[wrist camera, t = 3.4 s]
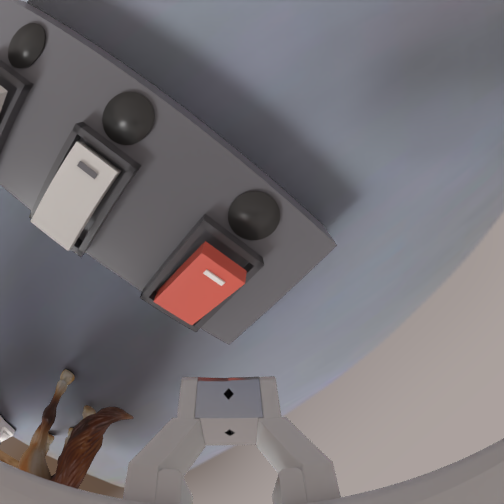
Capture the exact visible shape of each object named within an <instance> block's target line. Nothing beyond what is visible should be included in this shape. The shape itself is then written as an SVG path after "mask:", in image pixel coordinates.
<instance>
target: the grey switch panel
mask: <svg viewBox="0 0 504 504" xmlns="http://www.w3.org/2000/svg"><path fill="white" fill-rule="evenodd" d="M0 85H1V86H2V87H3V88H5V89H6V90H7V91H8V92H7V95H6V97H5V100H4V103H3V106H2V109H1V113H0V185H1V186H3V187H4V188H5V189H6V190H7V191H8V192H9V193H11V194H12V195H13V196H14V197H15V198H17V199H18V200H19V201H20V202H21V203H22V204H24V205H25V206H26V207H27V208H28V209H30V210H31V214H30V216H29V218H31V219H32V217H33V215H34V213H35V211H36V209H37V208H38V206H39V204H40V202H41V200H42V198H43V196H44V194H45V193H46V191H47V189H48V187H49V185H50V184H51V182H52V180H53V178H54V177H55V175H56V173H57V172H58V170H59V168H60V167H61V165H62V163H63V162H64V160H65V158H66V157H67V155H68V154H69V152H70V151H71V149H72V148H73V146H74V144H75V143H76V141H81V142H84V143H85V144H86V145H88V146H89V147H90V148H92V149H93V150H94V151H96V152H97V153H98V154H100V155H101V156H102V157H104V158H105V159H106V160H108V161H109V162H110V163H111V164H113V165H114V166H115V167H117V168H118V169H119V170H121V172H120V174H119V175H118V177H117V178H116V179H115V181H114V182H113V184H112V185H111V187H110V188H109V190H108V191H107V193H106V194H105V196H104V197H103V199H102V200H101V202H100V203H99V205H98V206H97V208H96V210H95V211H94V213H93V214H92V216H91V218H90V219H89V221H88V222H87V224H86V226H85V227H84V229H83V231H82V232H81V234H80V236H79V238H78V239H77V241H76V243H75V244H74V246H73V247H72V248H71V249H70V250H72V251H73V252H74V253H76V254H77V255H78V256H80V257H82V256H83V255H84V253H87V254H88V255H89V256H91V257H92V258H94V259H95V260H96V261H98V262H99V263H101V264H102V265H103V266H105V267H106V268H108V269H109V270H110V271H112V272H113V273H115V274H116V275H118V276H119V277H121V278H122V279H124V280H125V281H127V282H128V283H129V284H131V285H132V286H134V287H135V288H137V289H138V290H140V291H142V293H141V296H140V298H141V299H142V300H144V301H145V302H147V303H149V304H150V305H152V306H153V307H155V308H156V309H158V310H160V311H161V312H163V313H164V314H166V315H168V316H169V317H171V318H173V319H174V320H176V321H178V322H179V323H181V324H183V325H184V326H186V327H188V328H189V329H191V330H193V331H194V332H197V331H198V330H199V329H200V328H201V329H203V330H204V331H206V332H208V333H209V334H211V335H213V336H215V337H216V338H218V339H220V340H222V341H223V342H225V343H227V344H230V343H232V342H233V341H234V340H235V339H236V338H237V337H238V336H240V335H241V334H242V333H243V332H244V331H245V330H246V329H247V328H249V327H250V326H251V325H252V324H253V323H254V322H255V321H257V320H258V319H259V318H260V317H261V316H262V315H263V314H264V313H265V312H267V311H268V310H269V309H270V308H271V307H272V306H273V305H274V304H275V303H276V302H278V301H279V300H280V299H281V298H282V297H283V296H284V295H285V294H286V293H287V292H288V291H290V290H291V289H292V288H293V287H294V286H295V285H296V284H297V283H298V282H299V281H300V280H301V279H302V278H303V277H305V276H306V275H307V274H308V273H309V272H310V271H311V270H312V269H313V268H314V267H315V266H316V265H317V264H318V263H319V262H320V261H321V260H322V259H323V258H325V257H326V256H327V255H328V254H329V253H330V252H331V251H332V250H333V249H334V248H335V247H336V246H337V245H336V243H335V242H334V240H333V239H332V237H331V236H330V234H329V233H328V231H327V230H326V228H325V227H324V225H323V224H321V223H320V222H319V221H318V220H317V219H316V218H315V217H314V216H313V215H312V214H311V213H309V212H308V211H307V210H306V209H305V208H304V207H303V206H302V205H301V204H299V203H298V202H297V201H296V200H295V199H294V198H293V197H292V196H290V195H289V194H288V193H287V192H286V191H285V190H284V189H283V188H281V187H280V186H279V185H278V184H277V183H276V182H275V181H273V180H272V179H271V178H270V177H269V176H268V175H266V174H265V173H264V172H263V171H262V170H261V169H259V168H258V167H257V166H256V165H255V164H253V163H252V162H251V161H250V160H249V159H248V158H246V157H245V156H244V155H243V154H242V153H240V152H239V151H238V150H237V149H235V148H234V147H233V146H232V145H231V144H229V143H228V142H227V141H226V140H224V139H223V138H222V137H221V136H219V135H218V134H217V133H216V132H215V131H213V130H212V129H211V128H209V127H208V126H207V125H206V124H204V123H203V122H202V121H201V120H199V119H198V118H197V117H195V116H194V115H193V114H192V113H190V112H189V111H188V110H186V109H185V108H184V107H183V106H181V105H180V104H179V103H177V102H176V101H175V100H173V99H172V98H171V97H169V96H168V95H167V94H165V93H164V92H163V91H161V90H160V89H158V88H157V87H156V86H154V85H153V84H152V83H150V82H149V81H148V80H146V79H145V78H143V77H142V76H141V75H139V74H138V73H136V72H135V71H134V70H132V69H131V68H129V67H128V66H126V65H125V64H124V63H122V62H121V61H119V60H118V59H116V58H115V57H113V56H112V55H110V54H109V53H107V52H106V51H104V50H103V49H101V48H100V47H98V46H97V45H95V44H94V43H92V42H91V41H89V40H88V39H86V38H85V37H83V36H82V35H80V34H78V33H77V32H75V31H74V30H72V29H71V28H69V27H67V26H66V25H64V24H62V23H61V22H59V21H58V20H56V19H54V18H53V17H51V16H49V15H48V14H46V13H44V12H42V11H41V10H39V9H37V8H36V7H34V6H32V5H30V4H29V3H27V2H24V1H21V0H0ZM205 241H206V242H207V243H209V244H210V245H212V246H213V247H214V248H216V249H217V250H219V251H220V252H221V253H223V254H224V255H225V256H227V257H228V258H230V259H231V260H232V261H234V262H235V263H236V264H238V265H239V266H241V267H242V268H243V269H245V270H246V271H247V273H246V281H245V284H244V285H243V286H241V287H240V288H239V289H238V290H236V291H235V292H234V293H233V294H231V295H230V296H229V297H227V298H226V299H225V300H224V301H222V302H221V303H220V304H219V305H217V306H216V307H215V308H213V309H212V310H211V311H210V312H208V313H207V314H206V315H205V316H203V317H202V318H201V319H199V320H198V321H197V322H196V323H194V324H193V325H190V324H188V323H187V322H185V321H183V320H182V319H180V318H178V317H177V316H175V315H174V314H172V313H170V312H169V311H167V310H166V309H164V308H162V307H161V306H159V305H158V304H156V303H154V302H153V301H154V299H155V296H156V294H157V291H158V289H159V288H160V287H161V286H162V285H163V284H164V283H165V282H166V281H167V280H168V279H169V278H170V277H171V276H172V275H173V274H174V273H175V272H176V271H177V270H178V269H179V268H180V267H181V266H182V264H183V263H184V262H185V261H186V260H187V259H188V258H189V257H190V256H191V255H192V254H193V253H194V252H195V251H196V250H197V249H198V248H199V247H200V246H201V245H202V244H203V243H204V242H205Z"/></svg>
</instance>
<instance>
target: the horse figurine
mask: <svg viewBox="0 0 504 504" xmlns="http://www.w3.org/2000/svg"><path fill="white" fill-rule="evenodd" d="M74 379H75V376H74V374H73V373H71V372H70V371H68V370H66V369H65V370H63V372H62V374H61V376H60V380H59V381H58V383H57V386H56V391H55V394H54V396H53V398H52V400H51V402H50V404H49V405H48V406H47V407H46V408H45V410H44V412H43V416H42V423H41V425H40V426H39V427H38V429H37V430H36V431H35V433H34V435H33V437H32V439H31V442H30V446H29V448H28V449H27V450H26V451H25V452H24V453H23V455H22V457H21V459H20V462H19V466H18V469H20V470H22V471H25V472H28V473H30V474H33V475H36V476H38V477H41V478H44V479H47V480H50V481H53V482H56V483H59V484H63V485H66V486H69V487H73V488H76V489H78V488H79V486H80V484H81V483H82V481H83V479H84V477H85V475H86V473H87V470H88V469H89V467H90V464H91V463H92V461H93V459H94V457H95V455H96V453H97V452H98V451H99V449H100V448H101V446H102V440H103V434H104V433H105V431H106V429H107V428H108V427H109V426H110V424H112V423H114V422H117V421H119V420H125V419H133V418H134V417H133V416H132V415H129V414H128V413H126V412H125V411H124V410H122V409H120V408H118V407H107V408H103V409H101V410H100V411H99V412H97V413H96V411H95V410H94V409H93V408H92V407H91V406H88V405H86V406H84V411H83V413H82V414H83V415H82V416H83V419H82V420H80V422H79V424H78V425H76V426H75V427H74V428H69V432H68V437H66V439H65V445H64V448H63V451H62V454H61V455H60V456H59V458H58V466H57V470H56V473H55V474H54V475H53V476H51V475H50V472H49V469H48V466H47V463H46V460H45V456H46V454H47V452H48V450H49V445H50V444H51V443H52V442H53V440H54V436H53V435H51V434H49V433H48V432H49V430H50V428H51V426H52V425H53V423H54V421H55V417H56V408H57V405H58V402H59V400H60V397H61V396H62V395H63V394H64V392H65V391H66V389H67V385H70V384H71V382H73V381H74Z"/></svg>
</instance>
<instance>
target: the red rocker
mask: <svg viewBox="0 0 504 504" xmlns="http://www.w3.org/2000/svg"><path fill="white" fill-rule="evenodd" d="M246 273H247V271H246V270H245V269H243V268H242V267H241V266H239V265H238V264H236V263H235V262H234V261H232V260H231V259H230V258H228V257H227V256H225V255H224V254H223V253H221V252H220V251H219V250H217V249H216V248H214V247H213V246H212V245H210V244H209V243H207V242H206V241H205V242H204V243H203V244H202V245H201V246H200V247H199V248H198V249H197V250H196V251H195V252H194V253H193V254H192V255H191V256H190V257H189V258H188V259H187V260H186V261H185V262H184V263H183V264H182V266H181V267H180V268H179V269H178V270H177V271H176V272H175V273H174V274H173V275H172V276H171V277H170V278H169V279H168V280H167V281H166V282H165V283H164V284H163V285H162V286H161V287H160V288H159V289H158V291H157V294H156V296H155V299H154V301H153V302H154V303H156V304H158V305H159V306H161V307H162V308H164V309H166V310H167V311H169V312H170V313H172V314H174V315H175V316H177V317H178V318H180V319H182V320H183V321H185V322H187V323H188V324H190V325H193V324H194V323H196V322H197V321H198V320H199V319H201V318H202V317H203V316H205V315H206V314H207V313H208V312H210V311H211V310H212V309H213V308H215V307H216V306H217V305H219V304H220V303H221V302H222V301H224V300H225V299H226V298H227V297H229V296H230V295H231V294H233V293H234V292H235V291H236V290H238V289H239V288H240V287H241V286H243V285H244V284H245V281H246Z"/></svg>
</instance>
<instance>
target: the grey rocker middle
mask: <svg viewBox="0 0 504 504" xmlns="http://www.w3.org/2000/svg"><path fill="white" fill-rule="evenodd" d="M120 172H121V170H119V169H118V168H117V167H115V166H114V165H113V164H111V163H110V162H109V161H108V160H106V159H105V158H104V157H102V156H101V155H100V154H98V153H97V152H96V151H94V150H93V149H92V148H90V147H89V146H88V145H86V144H85V143H84V142H81V141H76V143H75V144H74V146H73V148H72V149H71V151H70V152H69V154H68V155H67V157H66V158H65V160H64V162H63V163H62V165H61V167H60V168H59V170H58V172H57V173H56V175H55V177H54V178H53V180H52V182H51V184H50V185H49V187H48V189H47V191H46V193H45V194H44V196H43V198H42V200H41V202H40V204H39V206H38V208H37V209H36V211H35V213H34V215H33V217H32V219H31V221H30V222H32V223H33V224H34V225H35V226H36V227H38V228H39V229H40V230H41V231H43V232H44V233H45V234H47V235H48V236H49V237H50V238H52V239H53V240H54V241H56V242H57V243H58V244H59V245H61V246H62V247H63V248H65V249H66V250H67V251H69V250H70V249H71V248H72V247H73V246H74V244H75V243H76V241H77V239H78V238H79V236H80V234H81V232H82V231H83V229H84V227H85V226H86V224H87V222H88V221H89V219H90V218H91V216H92V214H93V213H94V211H95V210H96V208H97V206H98V205H99V203H100V202H101V200H102V199H103V197H104V196H105V194H106V193H107V191H108V190H109V188H110V187H111V185H112V184H113V182H114V181H115V179H116V178H117V177H118V175H119V174H120Z"/></svg>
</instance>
